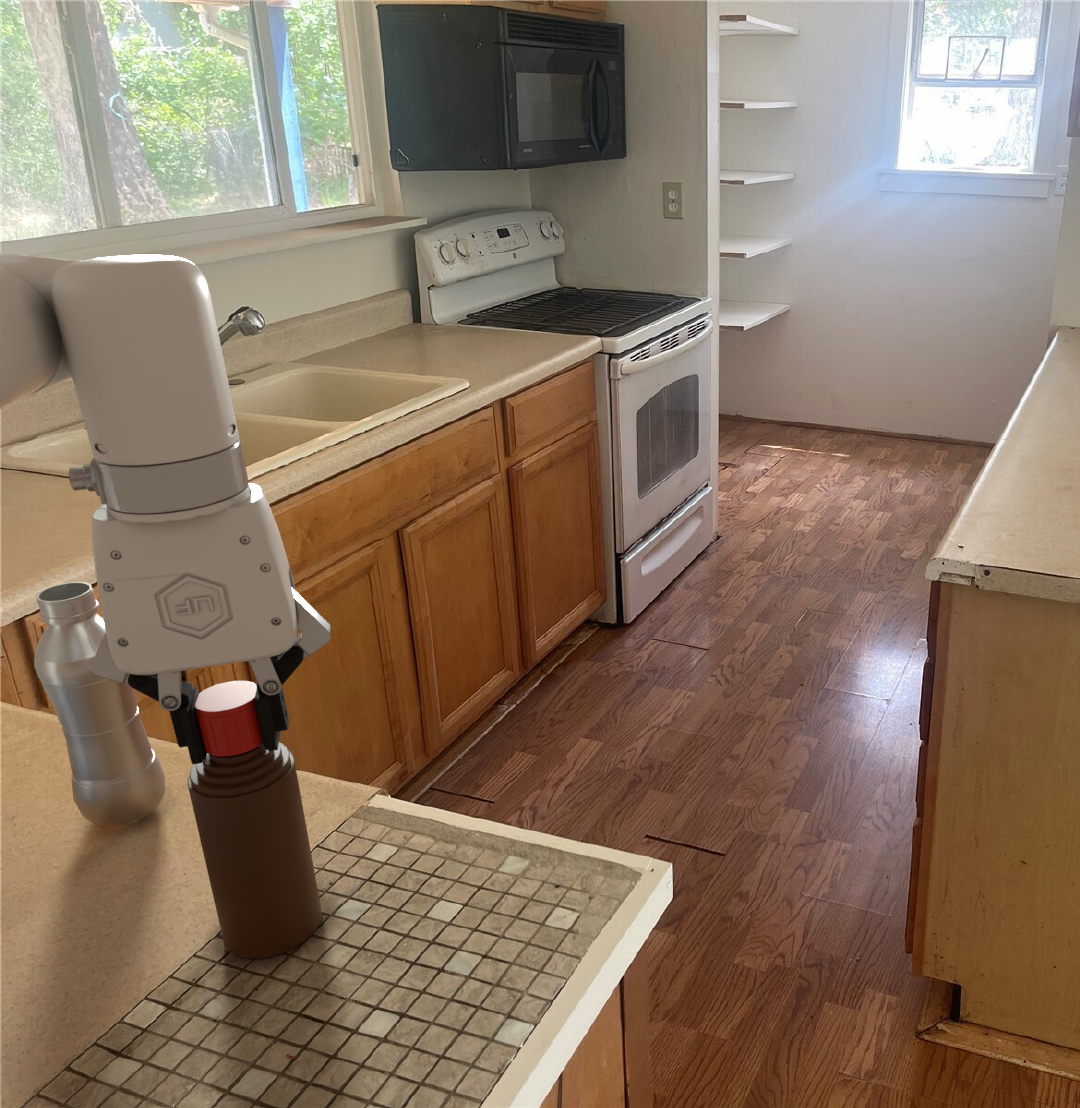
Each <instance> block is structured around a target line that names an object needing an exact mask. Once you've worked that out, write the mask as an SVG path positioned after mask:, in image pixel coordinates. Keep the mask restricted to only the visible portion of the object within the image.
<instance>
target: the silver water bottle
mask: <svg viewBox="0 0 1080 1108" xmlns="http://www.w3.org/2000/svg"><path fill="white" fill-rule="evenodd" d="M36 602H37V606H38V609H39V617H40V620H41V622H42V623H44V624H46V627H45V629H44V631H43V633H42V634H41V637H40V638H39V641H38V643H37V646H36V648H35V651H34V659H33V660H34V661H33V667H34V669H35V672H36V675H37V678H38V679H39V681H40V683H41V685H42V687H43V690H44V691H45V693H46V695H47V697H48V699H49V700H50V703H51V705H52V706H53V708H54V711H55V714H56V717H57V719H58V722H59V725H60V726H61V730H62V733H63V735H64V738H65V743H66V748H67V754H68V759H69V763H70V769H71V790H72V798H73V801H74V803H75V805H76V807H77V808H78V810H79V812H80V814H81V816H82V818H84V819H86V820H87V821H89V822H90V823H92V824H94V825H96V826H100V827H118V826H123V825H128V824H131V823H134V822H136V821H139V820H141V819H143V818H145V817H147V816H148V815H150V814H152V813H153V812H154V811H155V810H156V809H157V808H158V807H159V805H160V804H161V802H162V800H163V798H164V796H165V793H166V775H165V771H164V768H163V766H162V764H161V761H160V759H159V758H158V756H157V754H156V753H155V751H154V750H153V748H152V745H151V742H150V740H149V737H148V735H147V732H146V730H145V726H144V723H143V721H142V719H141V714H140V710H139V707H138V700H137V694H136V690H135V689H133V688H132V687H130V685H129V684H127V683H119V682H116V681H112V680H109V679H106V678H102V677H99V676H96V675H94V674H93V673H92V672H91V670H90V666H91V664H92V662H93V660H94V657H95V655H96V653H97V651H98V648H99V646H100V644H101V642H102V640H103V637H104V635H105V633H106V631H105V626H104V620H103V616H101V615H99V614H98V612H99V611H100V609H101V606H100V602H99V601H98V600H97V599H96V596H95V591H94V589H93V586H92V585H91V584H90V583H88V582H84V581H71V582H64V583H59V584H56V585H52V586H49V587H47V588H45V589H43V590H41V591H40V592H39V593H38V594H37V595H36Z"/></svg>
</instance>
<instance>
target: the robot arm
mask: <svg viewBox="0 0 1080 1108" xmlns="http://www.w3.org/2000/svg"><path fill="white" fill-rule="evenodd" d="M71 381H73V386H74V389H75V393H76V397H77V402H78V404H79V408H80V411H81V415H82V419H83V422H84V426H85V430H86V434H87V436H88V437H87V438H88V441H89V445H90V448H91V449H90V450H91V452H92V456H93V457H92V459H91V460H90V462H89V463H85V464H84V465H83V466H75V467H70V468H69V470H68V480H69V483H70V486H71V488H72V490H73V491H74V492H76V491H77V492H78V491H88V492H91V493H92V492H95V494H96V496H97V497H99V500H100V503H101V505H100V506H99V507H98V508H97V509H96V510H95V511H94V512H93V513H92V514H91V542H92V554H93V555H92V557H93V563H94V573H95V578H96V584H97V585H96V586H97V591H98V598H99V605H100V609H101V614H102V618H103V620H104V626H105V631H106V633H105V635H104V637H103V640H102V642H101V644H100V646H99V648H98V651H97V653H96V655H95V657H94V660H93V662H92V664H91V666H90V670H91V672H92V673H93V674H94V675H96V676H99V677H102V678H106V679H109V680H112V681H116V682H119V683H127V684H129V685H130V687H132V688H133V689H135V691H137V692H139V693H141V694H143V695H145V696H147V697H148V698H151V699H152V700H154V701H156V702H158V705H159V706H160V708H161V709H162V710H164V711H167V712H169V715H170V719H171V723H172V728H173V731H174V735H175V738H176V742H177V746H178V747H179V749H180V748H181V749H182V748H187V751H188V754H189V759H190V762H191V764H192V765H194V764H198V763H202V761H203V760H205V759H206V755H207V752H206V751H205V750H204V745H203V741H202V737H201V733H200V729H199V725H198V721H197V717H196V712H195V709H194V705H195V702H196V698H197V695H198V694H199V693H200V692H201V691H200V689H197V686H196V685H193V684H192V683H190V682H189V673H188V672H189V671H191V670H198V669H205V668H210V667H217V666H219V667H220V666H225V665H231V664H238V663H244V662H248V664H249V665H250V668H251V670H252V672H253V674H254V677H255V679H256V681H257V682H256V684H257V689H256V694H255V699H254V702H255V707H256V712H257V716H258V721H259V725H260V730H261V734H262V739H263V743H264V748H265V750H268V751H275V750H278V745H279V742H280V738H281V732H284V731H288V730H289V727H290V719H289V718H290V717H289V712H288V707H287V702H286V698H285V692H284V688H283V685H284V684H285V683H286V682H287V680H288V679H289V678H290V677H291V676H292V674H294V672H295V671H296V670H297V669H298V668H299V666H300V665H301V664H302V663H303V662H304V661H303V660H305V659H306V658H309V657H310V656H312V655H313V654H314V653H316V652H317V651H319V650H320V649H321V648H323V647H324V646H325V645H327V644H328V643H330V641H331V640H332V633H333V631H332V630H333V629H332V625H331V624H330V623H329V622H328V621H327V619H325V618H324V617H323V616H322V615H321V614H320V613H319V612H318V611H317V610H316V609H315V607H313V606H312V605H311V604H310V603H309V602H308V601H307V600H306V599H305V598H303V597H302V595H301V594H300V593H299V592H298V591H297V590H296V586H295V582H294V577H293V573H292V570H291V567H290V564H289V563H290V562H289V560H288V556H287V552H286V549H285V546H284V543H283V539H282V536H281V533H280V530H279V526H278V524H277V521H276V519H275V516H274V513H273V511H272V509H271V506H270V504H269V502H268V499H267V497H266V494H265V493H264V491H263V489H262V487H261V486H260V485H259V484H256V483H253V482H252V483H251V482H249V476H248V472H247V467H246V461H245V457H244V452H243V447H242V441H241V438H240V433H239V428H238V424H237V419H236V414H235V409H234V403H233V399H232V394H231V393H232V392H231V387H230V383H229V378H228V373H227V367H226V364H225V358H224V354H223V349H222V344H221V339H220V334H219V330H218V324H217V320H216V315H215V310H214V305H213V300H212V295H211V292H210V288H209V284H208V281H207V279H206V277H205V274H204V273H203V272H202V270H201V269H200V268H199V266H197V265H196V264H195V263H194V262H192V261H191V260H188V259H186V258H183V257H179V256H174V255H163V254H131V255H130V254H129V255H128V254H127V255H116V256H115V255H113V256H103V257H96V258H95V257H94V258H90V259H84V260H82V259H81V260H80V259H66V258H57V257H48V256H47V257H46V256H37V255H29V254H21V253H20V254H19V253H0V411H2V410H4V409H6V408H7V407H9V406H11V405H13V404H15V403H17V402H19V401H21V400H23V399H25V398H27V397H30V396H32V395H36V394H37V393H41V392H43V391H46V390H48V389H50V388H54V387H56V386H58V385H60V384H62V383H66V382H71ZM298 630H299V631H300V632H299V633H298Z"/></svg>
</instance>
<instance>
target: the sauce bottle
mask: <svg viewBox="0 0 1080 1108" xmlns="http://www.w3.org/2000/svg"><path fill="white" fill-rule="evenodd" d="M187 788H188V792H189V796H190V801H191V805H192V810H193V813H194V814H193V815H194V819H195V823H196V828H197V831H198V837H199V840H200V846H201V849H202V853H203V854H202V855H203V858H204V863H205V867H206V870H207V876H208V880H209V885H210V888H211V892H212V897H213V902H214V904H215V910H216V915H217V918H218V923H219V927H220V932H221V936H222V940H223V944H224V946H225V948H226V950H228V952H230V953H231V954H233V955H235V956H237V957H240V958H243V959H251V960H253V959H255V960H256V959H257V960H258V959H267V958H271V957H275V956H278V955H281V954H284V953H287V952H290V951H292V950H293V949H295V948H297V947H298V946H299V945H302V944H303V943H304V942H305V941H307V940H308V939H309V938H310V937H311V936H312V935H313V934H314V933H315V932H316V931H317V929H318V927H319V925H320V924H321V920H322V915H323V913H322V906H321V900H320V894H319V890H318V884H317V878H316V872H315V866H314V860H313V856H312V855H313V854H312V851H311V846H310V838H309V834H308V828H307V823H306V816H305V810H304V805H303V801H302V795H301V789H300V783H299V777H298V773H297V766H296V761H295V757H294V755H293V753H292V752H291V751H290V750H289V749H288V747H287V746H286V744H285V745H284V743H282V742H281V741H279V745H278V750H275V751H268V750H265V748H264V743H262V744H261V745H259V746H258V747H256V748H255V749H252V750H250V751H248V752H245V753H242V754H238V755H233V756H214V755H210V754H208V753H207V755H206V759H205V760H203V761H202V763H198V764H192V767H191V769H190V771H189V775H188V778H187Z"/></svg>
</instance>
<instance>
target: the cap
mask: <svg viewBox="0 0 1080 1108" xmlns="http://www.w3.org/2000/svg"><path fill="white" fill-rule="evenodd" d="M256 689H257V683H255V682H253V681H249V680H231V681H224V682H221V683H217V684H214V685H212V686H209V687H207V688H205V689H203V690H202V691H200V693H199V694H198V695H197V698H196V702H195V705H194V709H195V712H196V717H197V721H198V725H199V729H200V733H201V737H202V741H203V745H204V750H205V751H206V752H207V753H208V754H210V755H214V756H233V755H238V754H242V753H245V752H248V751H250V750H252V749H255V748H256V747H258V746H259V745H261V744H262V743H263V739H262V734H261V730H260V725H259V721H258V716H257V712H256V707H255V702H254V699H255V694H256Z"/></svg>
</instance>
